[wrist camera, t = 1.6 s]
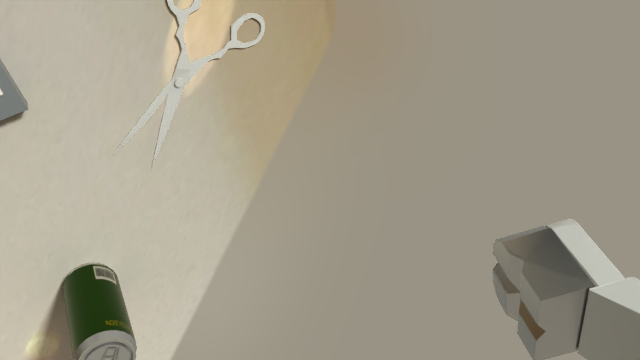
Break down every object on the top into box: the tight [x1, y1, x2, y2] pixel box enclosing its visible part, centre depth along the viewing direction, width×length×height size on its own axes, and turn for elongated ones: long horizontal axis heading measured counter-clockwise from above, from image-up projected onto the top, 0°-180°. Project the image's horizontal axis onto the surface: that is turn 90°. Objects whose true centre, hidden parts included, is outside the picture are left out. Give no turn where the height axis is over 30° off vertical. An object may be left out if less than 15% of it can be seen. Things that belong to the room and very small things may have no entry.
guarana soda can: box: [63, 263, 137, 360], centre depth 56 cm, size 5×5×12 cm
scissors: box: [113, 0, 265, 167], centre depth 55 cm, size 11×1×20 cm
